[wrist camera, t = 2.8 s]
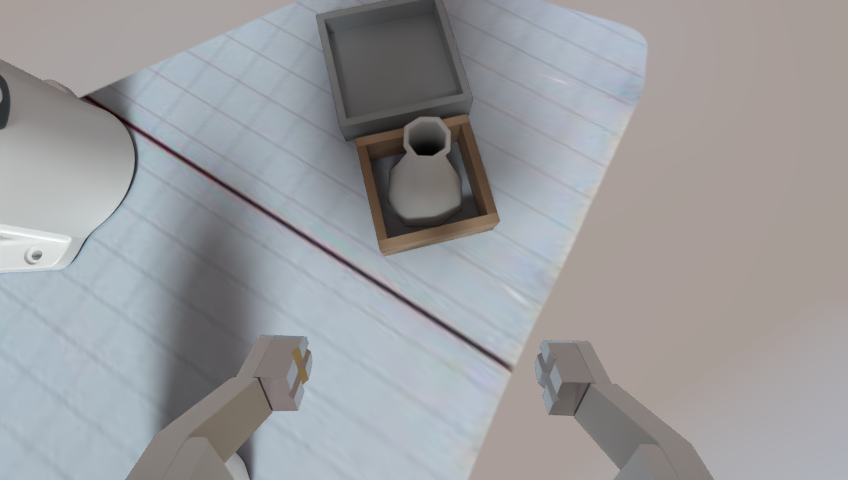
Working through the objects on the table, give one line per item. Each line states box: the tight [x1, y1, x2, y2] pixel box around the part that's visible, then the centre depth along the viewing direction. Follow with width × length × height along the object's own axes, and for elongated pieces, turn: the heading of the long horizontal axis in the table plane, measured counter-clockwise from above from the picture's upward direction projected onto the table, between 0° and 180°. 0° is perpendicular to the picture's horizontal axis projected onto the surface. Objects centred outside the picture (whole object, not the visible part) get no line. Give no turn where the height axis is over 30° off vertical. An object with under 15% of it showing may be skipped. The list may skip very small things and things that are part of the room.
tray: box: [316, 0, 473, 141], centre depth 32 cm, size 12×12×2 cm
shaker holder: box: [355, 114, 500, 256], centre depth 29 cm, size 10×10×3 cm
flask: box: [388, 117, 462, 226], centre depth 26 cm, size 7×7×10 cm
